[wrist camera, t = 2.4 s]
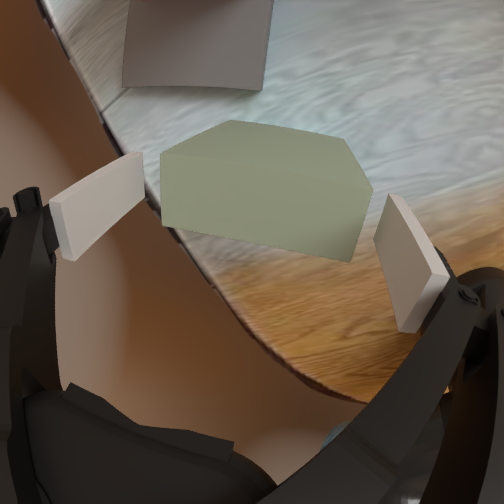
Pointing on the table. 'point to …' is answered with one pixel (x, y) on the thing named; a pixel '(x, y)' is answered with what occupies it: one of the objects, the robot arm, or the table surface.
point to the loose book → (267, 188)
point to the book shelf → (197, 43)
